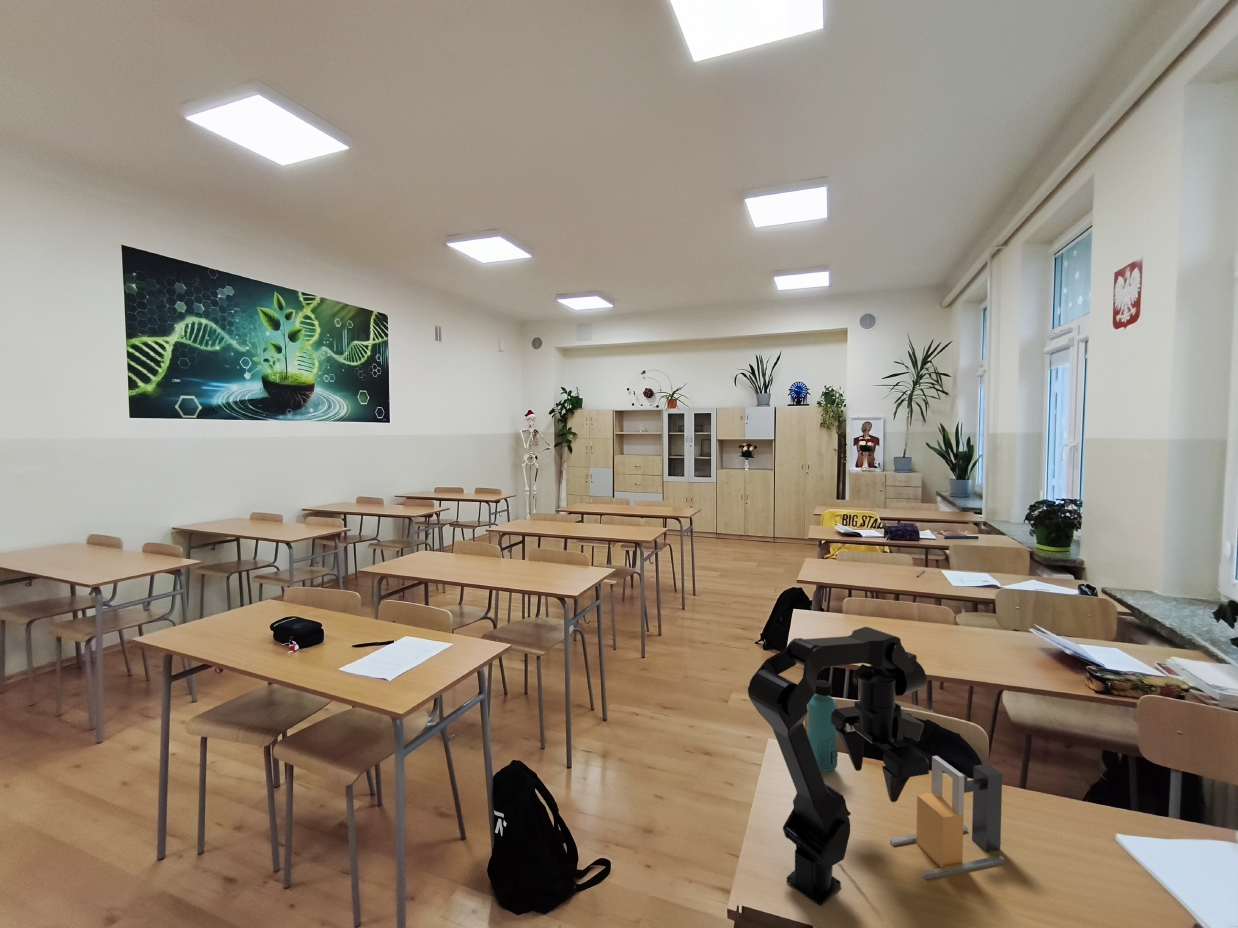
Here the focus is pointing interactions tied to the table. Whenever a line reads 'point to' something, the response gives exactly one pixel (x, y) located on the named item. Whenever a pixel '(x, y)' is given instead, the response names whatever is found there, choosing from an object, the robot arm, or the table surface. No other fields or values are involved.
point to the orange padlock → (942, 817)
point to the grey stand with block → (976, 821)
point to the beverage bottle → (823, 726)
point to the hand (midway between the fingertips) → (875, 784)
